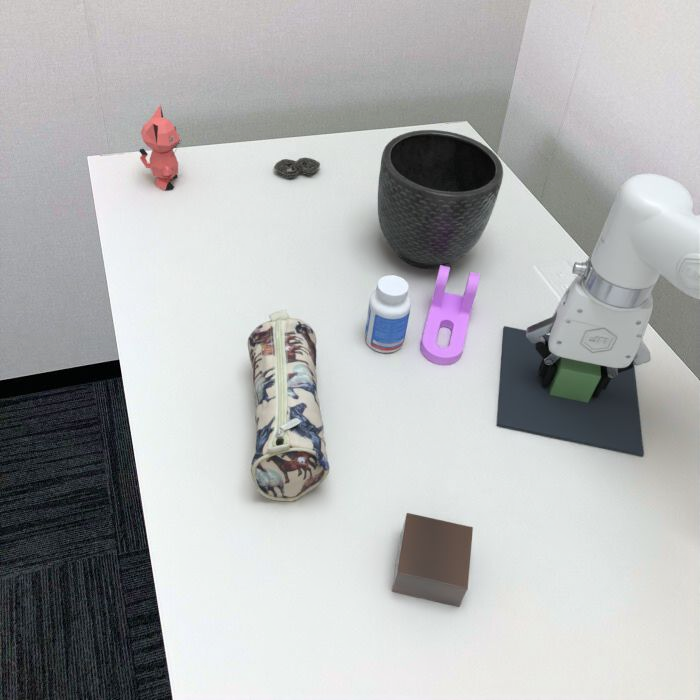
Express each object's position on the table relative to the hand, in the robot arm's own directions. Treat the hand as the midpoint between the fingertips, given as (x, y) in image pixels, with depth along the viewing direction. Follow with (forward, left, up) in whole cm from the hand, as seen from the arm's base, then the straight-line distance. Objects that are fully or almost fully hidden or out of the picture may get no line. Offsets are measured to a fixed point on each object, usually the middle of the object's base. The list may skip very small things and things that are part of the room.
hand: (569, 383), depth 96 cm
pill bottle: (+25, -2, -1) cm, 25 cm away
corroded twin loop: (+46, -38, -1) cm, 60 cm away
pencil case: (+34, +16, -1) cm, 38 cm away
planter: (+22, -23, -1) cm, 32 cm away
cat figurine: (+66, -28, -1) cm, 72 cm away
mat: (0, 0, -1) cm, 1 cm away
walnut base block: (+15, +30, -1) cm, 34 cm away
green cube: (0, 0, 0) cm, 0 cm away
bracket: (+17, -6, -1) cm, 18 cm away
